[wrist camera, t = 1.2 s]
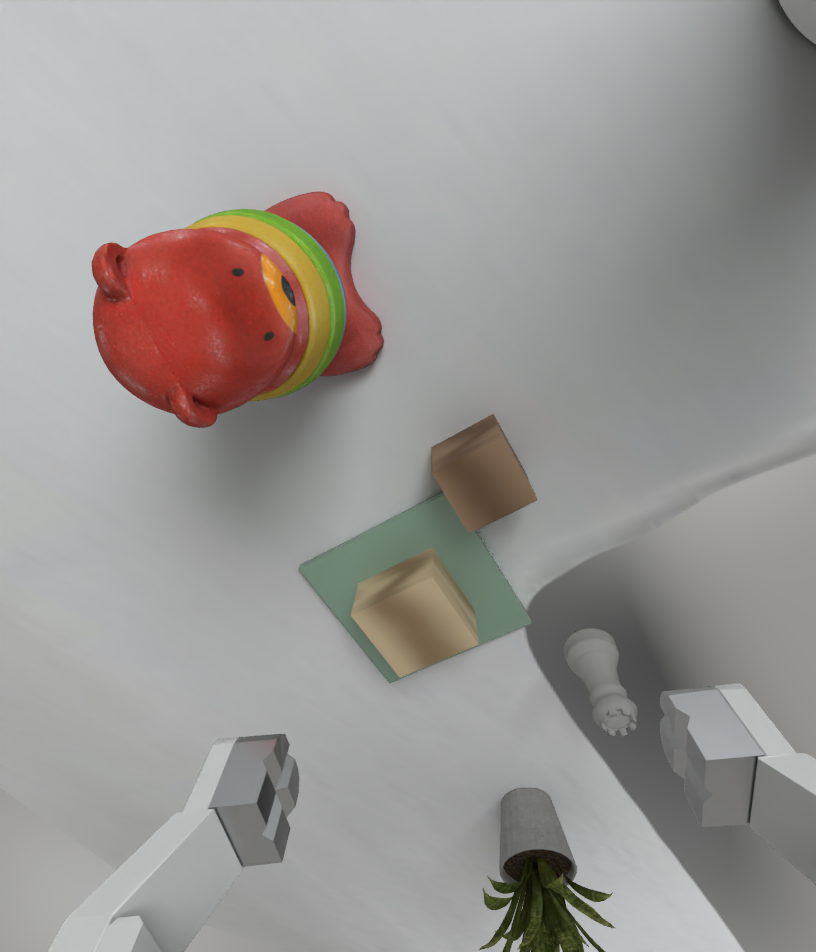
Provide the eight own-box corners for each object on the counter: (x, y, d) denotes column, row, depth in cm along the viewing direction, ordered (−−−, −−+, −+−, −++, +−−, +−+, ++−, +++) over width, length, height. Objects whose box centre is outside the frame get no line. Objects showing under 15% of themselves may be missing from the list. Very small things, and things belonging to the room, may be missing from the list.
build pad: (449, 488, 38) (449, 491, 37) (530, 618, 42) (531, 623, 42) (300, 565, 41) (298, 569, 40) (390, 678, 45) (389, 683, 45)
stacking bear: (391, 359, 34) (353, 454, 18) (254, 395, 35) (101, 513, 19) (343, 183, 30) (236, 93, 14) (190, 231, 31) (-74, 202, 15)
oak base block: (432, 547, 39) (432, 577, 35) (474, 610, 41) (478, 644, 38) (357, 583, 41) (350, 615, 37) (402, 641, 43) (399, 677, 39)
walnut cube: (493, 413, 35) (502, 436, 31) (524, 470, 37) (537, 500, 32) (431, 447, 36) (431, 474, 32) (464, 500, 38) (469, 533, 33)
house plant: (427, 828, 54) (426, 1047, 39) (470, 744, 48) (487, 961, 34) (550, 857, 55) (595, 1080, 40) (606, 778, 50) (681, 1003, 35)
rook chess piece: (593, 672, 44) (625, 754, 37) (550, 652, 43) (575, 732, 36) (624, 637, 42) (665, 717, 35) (581, 616, 42) (613, 693, 34)
